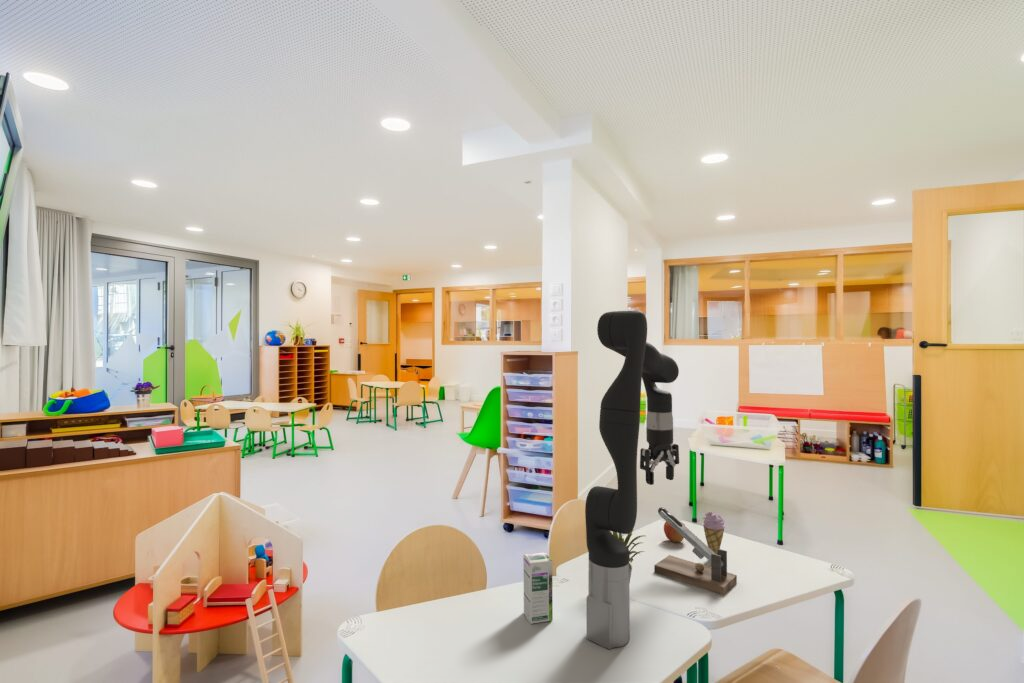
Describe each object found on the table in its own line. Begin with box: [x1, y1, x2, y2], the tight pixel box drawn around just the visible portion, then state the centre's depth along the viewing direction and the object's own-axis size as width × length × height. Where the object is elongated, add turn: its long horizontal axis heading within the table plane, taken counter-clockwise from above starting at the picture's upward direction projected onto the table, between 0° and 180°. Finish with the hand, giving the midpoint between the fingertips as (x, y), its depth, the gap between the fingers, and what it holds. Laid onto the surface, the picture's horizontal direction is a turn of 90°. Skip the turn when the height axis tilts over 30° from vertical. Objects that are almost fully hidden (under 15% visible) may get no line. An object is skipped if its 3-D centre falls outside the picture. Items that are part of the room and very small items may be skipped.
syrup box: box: [522, 551, 554, 625], centre depth 118 cm, size 6×6×14 cm
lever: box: [657, 507, 725, 567], centre depth 141 cm, size 3×22×4 cm
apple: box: [663, 521, 686, 543], centre depth 167 cm, size 7×7×8 cm
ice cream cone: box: [702, 510, 726, 554], centre depth 153 cm, size 7×6×15 cm
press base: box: [653, 548, 738, 596], centre depth 140 cm, size 10×20×9 cm, turn 47°
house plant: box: [612, 528, 645, 585], centre depth 132 cm, size 14×14×16 cm
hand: (660, 481), depth 142 cm, fingers open, 8 cm apart
